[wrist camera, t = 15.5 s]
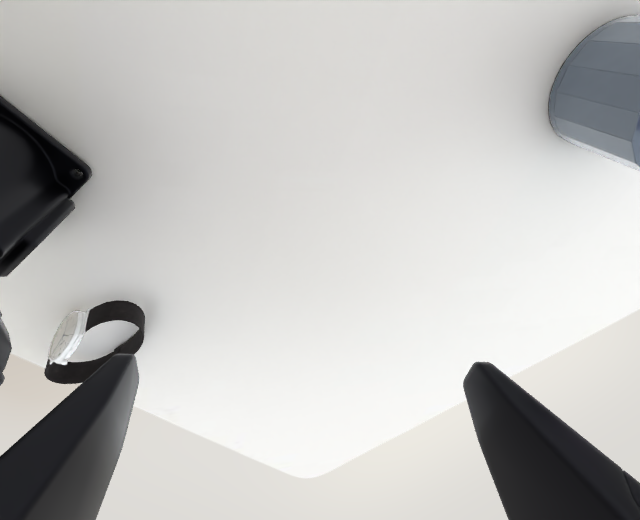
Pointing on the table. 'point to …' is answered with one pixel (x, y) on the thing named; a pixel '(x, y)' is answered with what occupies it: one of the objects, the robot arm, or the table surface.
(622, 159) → the pen holder
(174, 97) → the table surface
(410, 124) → the table surface
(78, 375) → the watch
